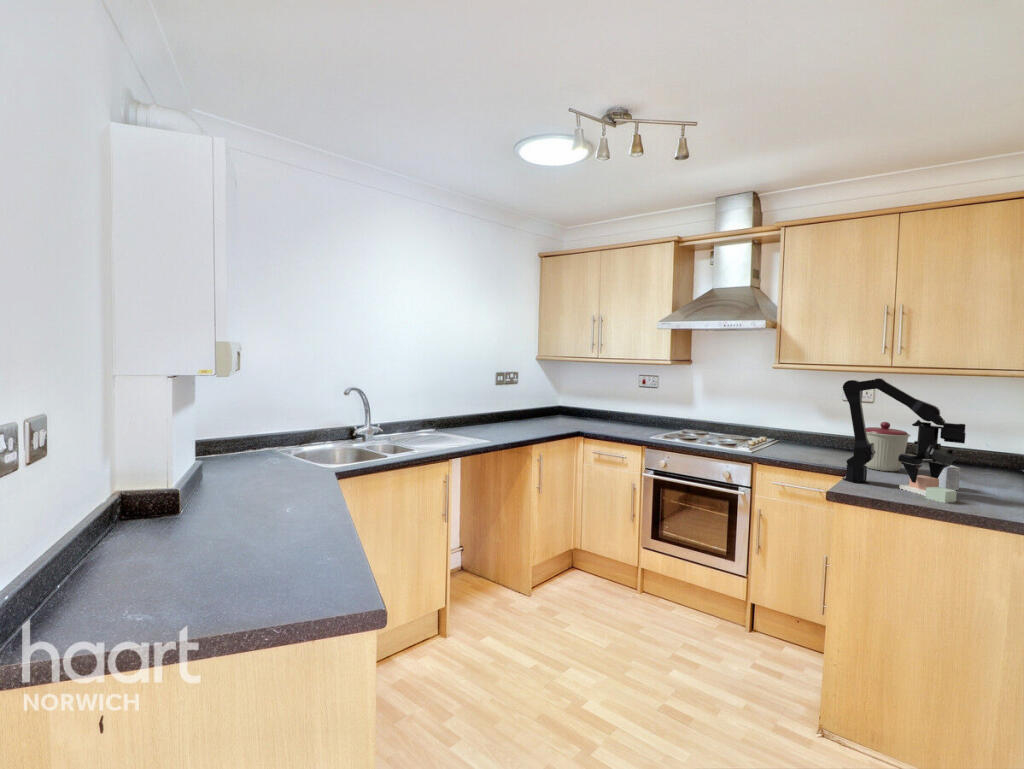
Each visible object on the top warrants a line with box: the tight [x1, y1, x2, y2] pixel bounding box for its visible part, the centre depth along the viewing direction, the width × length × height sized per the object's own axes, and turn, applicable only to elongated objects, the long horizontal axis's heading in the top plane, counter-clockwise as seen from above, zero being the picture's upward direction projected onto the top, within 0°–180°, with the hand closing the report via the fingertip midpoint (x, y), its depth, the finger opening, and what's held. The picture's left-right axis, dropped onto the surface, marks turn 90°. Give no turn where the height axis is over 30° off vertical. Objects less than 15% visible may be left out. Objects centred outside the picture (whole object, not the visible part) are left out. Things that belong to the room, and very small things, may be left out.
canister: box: [864, 421, 911, 473], centre depth 231 cm, size 18×18×21 cm
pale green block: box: [924, 487, 958, 504], centre depth 180 cm, size 6×6×4 cm
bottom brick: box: [908, 474, 939, 490], centre depth 190 cm, size 6×6×4 cm
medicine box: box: [938, 464, 961, 492], centre depth 199 cm, size 8×4×9 cm, turn 168°
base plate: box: [898, 484, 926, 497], centre depth 191 cm, size 10×10×2 cm
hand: (923, 482), depth 190 cm, fingers open, 9 cm apart
